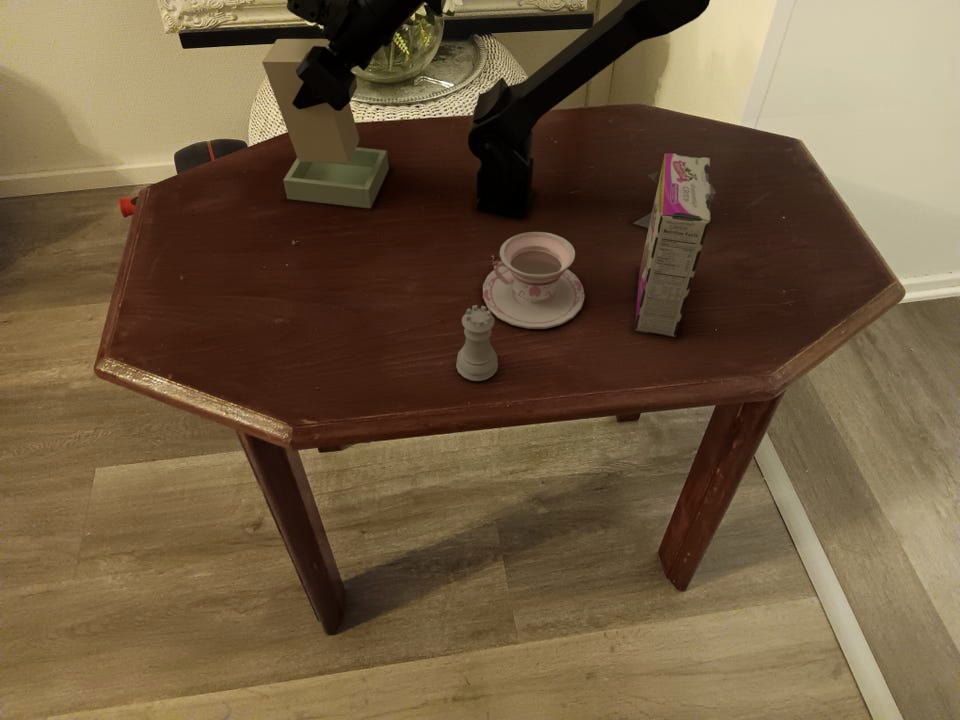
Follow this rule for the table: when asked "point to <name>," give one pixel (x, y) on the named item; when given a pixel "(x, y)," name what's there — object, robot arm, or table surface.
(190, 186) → the table surface
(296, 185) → the socket
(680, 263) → the candy bar box
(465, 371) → the rook chess piece
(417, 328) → the table surface
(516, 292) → the teacup
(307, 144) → the tan rectangular block
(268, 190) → the table surface
